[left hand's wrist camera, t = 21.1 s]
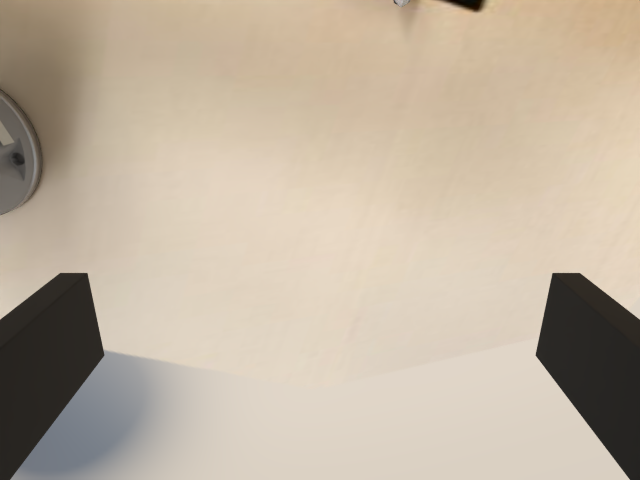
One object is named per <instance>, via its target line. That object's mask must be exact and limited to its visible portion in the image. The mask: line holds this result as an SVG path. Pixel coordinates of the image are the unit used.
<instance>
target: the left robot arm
mask: <svg viewBox="0 0 640 480" xmlns="http://www.w3.org/2000/svg"><path fill="white" fill-rule="evenodd" d="M41 171H42V154H41V148H40V144H39V141H38V138H37V135H36V133H35V130H34V128H33V126H32V124H31V123H30V121H29V119H28V118H27V116H26V115H25V113H24V112H23V111H22V109H21V108H20V107H19V106H18V105H17V104H16V103H15V102H14V101H13V100H12V99H11V98H10V97H9V96H8V95H7V94H5V93H4V92H3V91H2V90H0V215H2V214H5V213H7V212H9V211H11V210H13V209H15V208H17V207H19V206H21V205H22V204H23V203H24V202H26V201H27V200H28V199H29V198H30V197H31V195H32V194H33V193H34V191H35V189H36V187H37V185H38V183H39V180H40V176H41ZM103 356H104V351H103V346H102V341H101V337H100V332H99V327H98V322H97V317H96V312H95V308H94V303H93V298H92V293H91V288H90V283H89V279H88V274H87V273H60V274H58V275H57V276H56V277H55V278H53V279H52V280H51V281H49V282H48V283H47V284H46V285H44V286H43V287H42V288H40V289H39V290H38V291H37V292H35V293H34V294H33V295H31V296H30V297H29V298H28V299H26V300H25V301H24V302H22V303H21V304H20V305H19V306H17V307H16V308H15V309H13V310H12V311H11V312H10V313H8V314H7V315H6V316H4V317H3V318H2V319H1V320H0V480H10V479H11V478H12V476H13V475H14V474H15V472H16V471H17V470H18V468H19V467H20V466H21V464H22V463H23V462H24V461H25V459H26V458H27V457H28V455H29V454H30V453H31V451H32V450H33V449H34V447H35V446H36V445H37V443H38V442H39V441H40V439H41V438H42V437H43V436H44V434H45V433H46V431H47V430H48V429H49V428H50V426H51V425H52V424H53V422H54V421H55V420H56V418H57V417H58V416H59V414H60V413H61V412H62V410H63V409H64V408H65V407H66V405H67V404H68V403H69V401H70V400H71V399H72V397H73V396H74V395H75V393H76V392H77V391H78V389H79V388H80V387H81V385H82V384H83V383H84V382H85V380H86V379H87V378H88V376H89V375H90V374H91V372H92V371H93V370H94V368H95V367H96V366H97V364H98V363H99V362H100V360H101V359H102V358H103ZM536 356H537V358H538V359H539V360H540V362H541V363H542V364H543V366H544V367H545V368H546V370H547V371H548V372H549V374H550V375H551V376H552V378H553V379H554V380H555V381H556V383H557V384H558V385H559V387H560V388H561V389H562V391H563V392H564V393H565V395H566V396H567V397H568V399H569V400H570V401H571V403H572V404H573V405H574V407H575V408H576V409H577V410H578V412H579V413H580V414H581V416H582V417H583V418H584V420H585V421H586V422H587V424H588V425H589V426H590V428H591V429H592V430H593V432H594V433H595V434H596V435H597V437H598V438H599V439H600V441H601V442H602V443H603V445H604V446H605V447H606V449H607V450H608V451H609V453H610V454H611V455H612V457H613V458H614V459H615V460H616V462H617V463H618V464H619V466H620V467H621V468H622V470H623V471H624V472H625V474H626V475H627V476H628V478H629V479H630V480H640V320H639V319H638V318H637V317H635V316H634V315H633V314H632V313H630V312H629V311H628V310H627V309H625V308H624V307H623V306H621V305H620V304H619V303H618V302H616V301H615V300H614V299H612V298H611V297H610V296H609V295H607V294H606V293H605V292H603V291H602V290H601V289H600V288H598V287H597V286H596V285H594V284H593V283H592V282H591V281H589V280H588V279H587V278H585V277H584V276H583V275H582V274H580V273H553V274H552V279H551V283H550V288H549V293H548V298H547V303H546V308H545V312H544V317H543V322H542V327H541V332H540V337H539V342H538V346H537V351H536Z"/></svg>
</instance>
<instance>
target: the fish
mask: <svg viewBox="0 0 640 480" xmlns="http://www.w3.org/2000/svg"><path fill="white" fill-rule="evenodd" d="M409 1H410V0H394V3H395V4H397V5H398V6H400V7H402V6H404V5H406V4H407V3H409Z"/></svg>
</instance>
